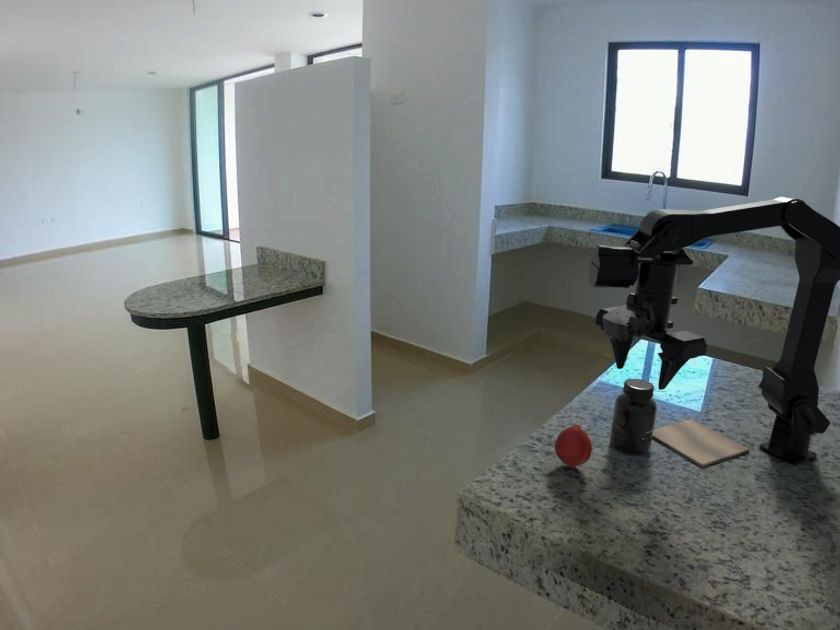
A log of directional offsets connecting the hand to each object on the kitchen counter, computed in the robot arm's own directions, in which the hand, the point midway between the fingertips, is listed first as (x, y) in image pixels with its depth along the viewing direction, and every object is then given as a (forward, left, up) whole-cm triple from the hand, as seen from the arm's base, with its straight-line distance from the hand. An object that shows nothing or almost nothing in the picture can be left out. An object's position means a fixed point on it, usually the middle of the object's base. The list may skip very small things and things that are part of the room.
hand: (639, 378), depth 97 cm
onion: (+14, +1, -13) cm, 19 cm away
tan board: (-12, +4, -13) cm, 18 cm away
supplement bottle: (0, 0, -13) cm, 13 cm away
